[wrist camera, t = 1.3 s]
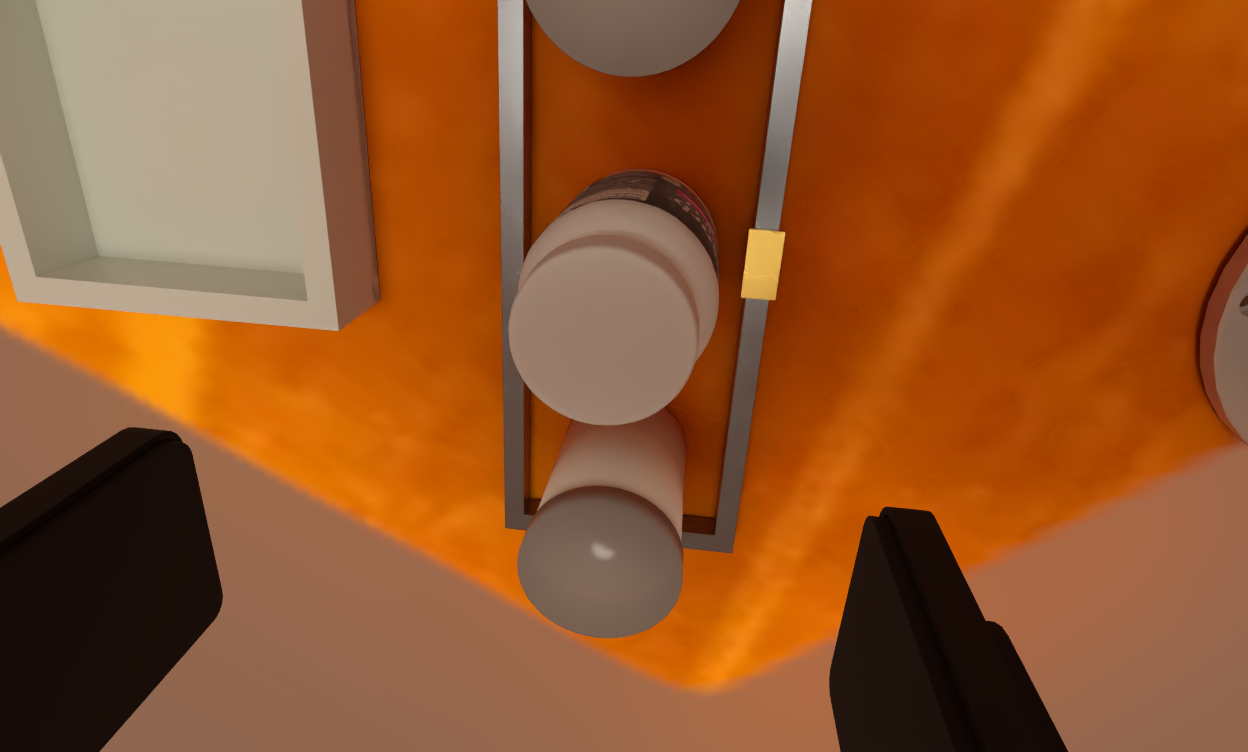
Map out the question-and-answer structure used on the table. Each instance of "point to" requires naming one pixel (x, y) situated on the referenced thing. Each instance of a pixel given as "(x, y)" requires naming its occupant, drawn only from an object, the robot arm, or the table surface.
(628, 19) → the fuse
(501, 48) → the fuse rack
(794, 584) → the table surface
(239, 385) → the table surface
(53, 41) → the tray
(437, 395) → the table surface
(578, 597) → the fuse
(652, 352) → the pill bottle
